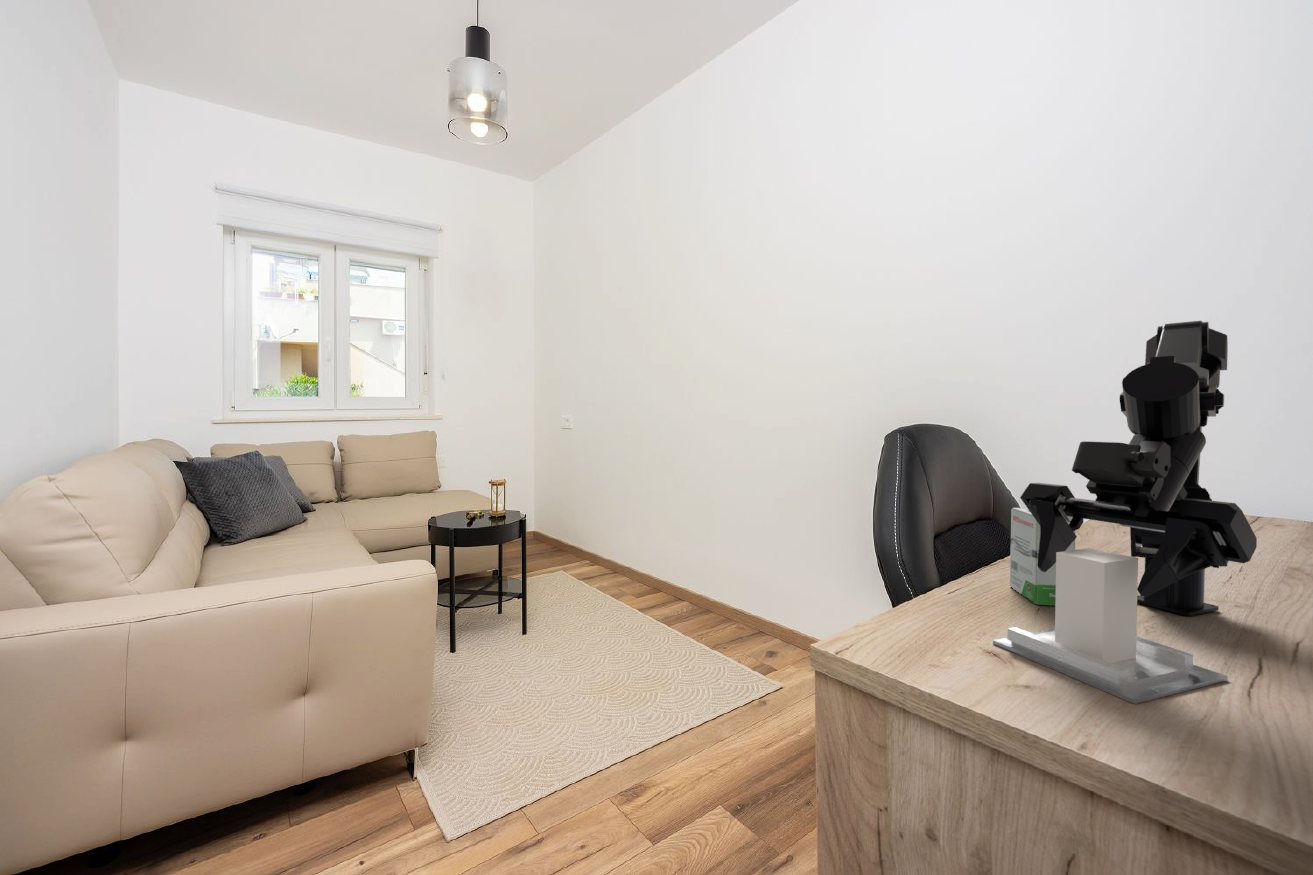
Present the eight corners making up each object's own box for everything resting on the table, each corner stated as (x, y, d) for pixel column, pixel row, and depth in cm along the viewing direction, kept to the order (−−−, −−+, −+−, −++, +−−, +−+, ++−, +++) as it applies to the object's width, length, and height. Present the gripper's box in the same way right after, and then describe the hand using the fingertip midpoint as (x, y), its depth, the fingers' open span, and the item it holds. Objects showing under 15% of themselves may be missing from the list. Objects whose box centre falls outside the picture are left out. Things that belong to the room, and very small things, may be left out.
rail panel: (1076, 628, 67) (1076, 609, 67) (1227, 680, 54) (1228, 657, 53) (992, 643, 63) (993, 623, 62) (1134, 704, 49) (1135, 679, 49)
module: (1087, 640, 61) (1088, 548, 60) (1135, 657, 56) (1138, 558, 56) (1054, 647, 59) (1056, 552, 59) (1102, 665, 55) (1104, 562, 54)
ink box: (1076, 607, 74) (1078, 517, 73) (1034, 605, 75) (1036, 516, 74) (1045, 588, 82) (1046, 506, 82) (1008, 586, 83) (1009, 506, 83)
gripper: (1032, 414, 67) (964, 514, 63) (1244, 412, 50) (1170, 550, 46) (1073, 477, 70) (1011, 575, 66) (1285, 496, 53) (1219, 630, 49)
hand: (1087, 580), depth 57 cm, fingers open, 9 cm apart
